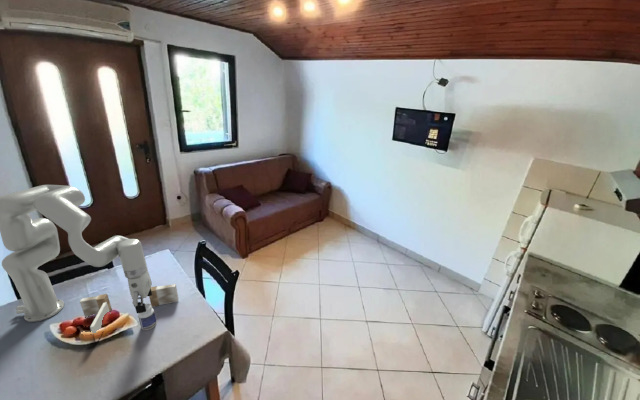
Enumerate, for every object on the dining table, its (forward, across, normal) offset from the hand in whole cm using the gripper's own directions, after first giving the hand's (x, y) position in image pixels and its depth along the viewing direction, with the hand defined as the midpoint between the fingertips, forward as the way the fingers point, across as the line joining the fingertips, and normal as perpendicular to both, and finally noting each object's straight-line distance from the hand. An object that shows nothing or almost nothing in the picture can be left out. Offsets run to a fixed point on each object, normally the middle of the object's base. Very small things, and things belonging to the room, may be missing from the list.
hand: (144, 303), depth 109 cm
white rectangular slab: (+12, +4, +19) cm, 22 cm away
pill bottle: (+12, 0, +1) cm, 12 cm away
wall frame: (+12, +13, +10) cm, 20 cm away
